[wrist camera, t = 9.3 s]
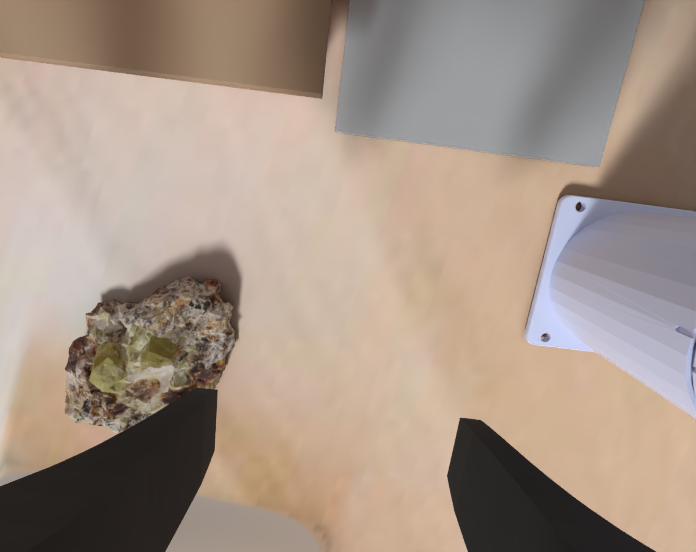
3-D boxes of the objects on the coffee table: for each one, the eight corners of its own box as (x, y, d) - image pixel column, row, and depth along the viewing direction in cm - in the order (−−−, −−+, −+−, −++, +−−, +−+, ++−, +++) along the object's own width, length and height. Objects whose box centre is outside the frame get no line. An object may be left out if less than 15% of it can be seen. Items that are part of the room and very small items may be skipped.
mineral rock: (147, 481, 21) (-8, 415, 17) (164, 422, 25) (41, 359, 21) (283, 355, 19) (144, 255, 16) (279, 313, 23) (166, 226, 20)
